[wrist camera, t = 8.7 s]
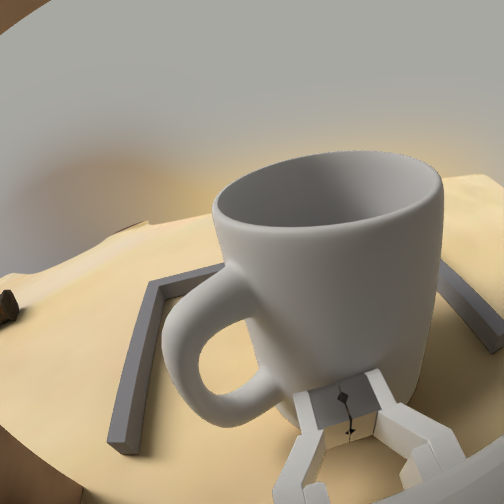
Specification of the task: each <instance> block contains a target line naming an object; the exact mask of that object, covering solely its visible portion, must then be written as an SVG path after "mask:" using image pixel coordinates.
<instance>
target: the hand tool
mask: <svg viewBox="0 0 504 504" xmlns="http://www.w3.org/2000/svg"><path fill="white" fill-rule="evenodd" d="M18 314H19V306H18V303H17V301H16V299H15V297H14V295H13V293H12V292H11V290H3V292H2V294H0V324H1V323H4V322H5V321H6V320H8V319H11V320H13V321H15V320H16V318H17V316H18Z"/></svg>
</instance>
